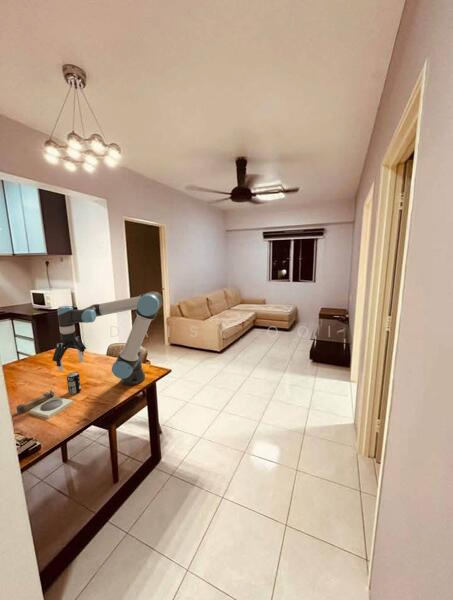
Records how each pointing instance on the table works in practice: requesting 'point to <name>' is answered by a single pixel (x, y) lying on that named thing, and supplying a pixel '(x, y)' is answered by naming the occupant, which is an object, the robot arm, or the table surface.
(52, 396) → the hinge pin
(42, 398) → the brown grey-ended bar
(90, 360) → the table surface
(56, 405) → the board
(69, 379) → the beverage can
